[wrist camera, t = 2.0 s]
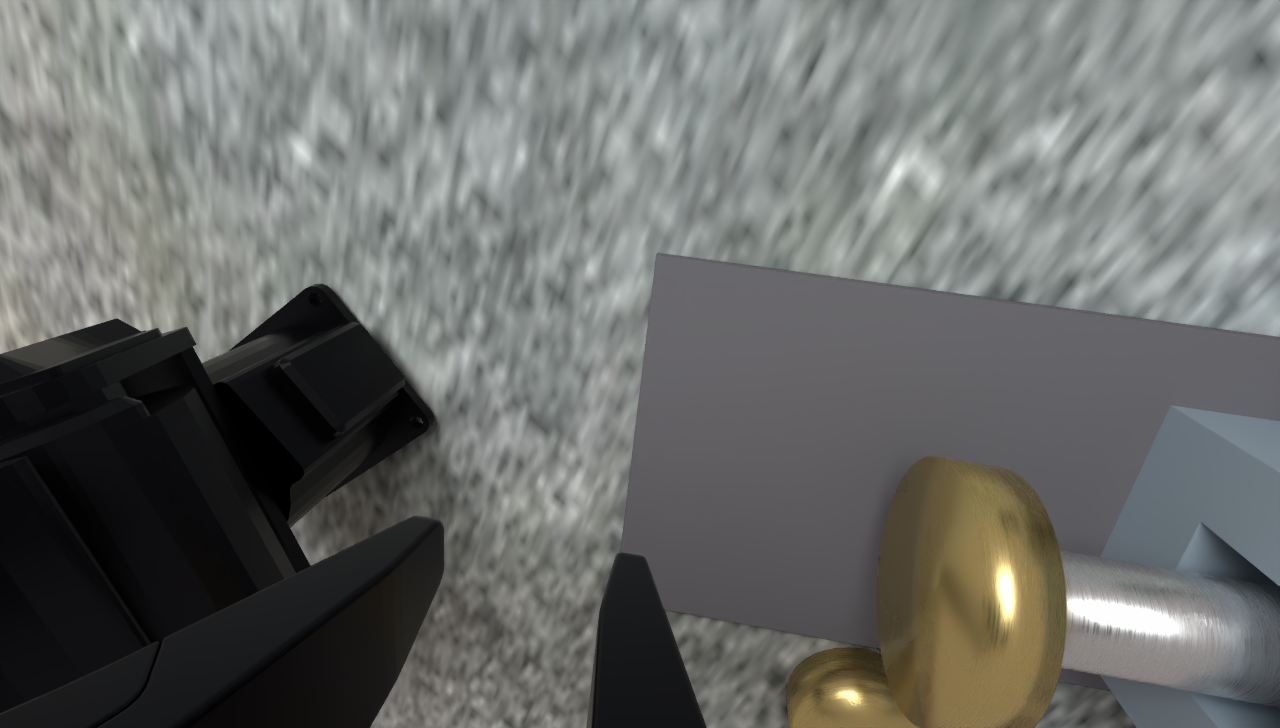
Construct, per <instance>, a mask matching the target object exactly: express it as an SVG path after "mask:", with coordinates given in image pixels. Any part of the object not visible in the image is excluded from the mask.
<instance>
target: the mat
mask: <svg viewBox="0 0 1280 728" xmlns="http://www.w3.org/2000/svg"><path fill="white" fill-rule="evenodd" d="M1170 405H1172V406H1178V407H1185V408H1192V409H1199V410H1206V411H1213V412H1220V413H1226V414H1233V415H1240V416H1247V417H1254V418H1261V419H1268V420H1274V421H1280V337H1274V336H1267V335H1260V334H1252V333H1245V332H1238V331H1230V330H1223V329H1215V328H1208V327H1201V326H1193V325H1186V324H1179V323H1171V322H1164V321H1156V320H1149V319H1142V318H1134V317H1127V316H1120V315H1112V314H1105V313H1097V312H1090V311H1083V310H1075V309H1068V308H1061V307H1053V306H1046V305H1038V304H1031V303H1024V302H1016V301H1009V300H1002V299H994V298H987V297H979V296H972V295H965V294H957V293H950V292H943V291H935V290H928V289H920V288H913V287H906V286H898V285H891V284H884V283H876V282H869V281H861V280H854V279H847V278H839V277H832V276H825V275H817V274H810V273H802V272H795V271H788V270H780V269H773V268H766V267H758V266H751V265H743V264H736V263H729V262H721V261H714V260H707V259H699V258H692V257H684V256H677V255H670V254H662V253H657V255H656V261H655V270H654V278H653V286H652V295H651V303H650V311H649V319H648V328H647V336H646V344H645V353H644V361H643V369H642V378H641V386H640V394H639V402H638V411H637V419H636V427H635V436H634V444H633V452H632V461H631V469H630V477H629V485H628V494H627V502H626V510H625V519H624V527H623V535H622V544H621V552H624V553H630V554H635V555H641V556H644V557H645V558H646V560H647V562H648V565H649V568H650V571H651V574H652V576H653V579H654V582H655V585H656V588H657V590H658V593H659V596H660V599H661V602H662V604H663V607H664V610H670V611H675V612H680V613H686V614H691V615H697V616H702V617H708V618H713V619H719V620H724V621H730V622H735V623H741V624H746V625H752V626H757V627H763V628H768V629H774V630H779V631H785V632H790V633H795V634H801V635H806V636H812V637H817V638H823V639H828V640H834V641H839V642H845V643H850V644H856V645H861V646H867V647H872V648H878V649H881V648H880V641H879V633H878V622H877V575H878V563H879V554H880V547H881V541H882V535H883V531H884V526H885V522H886V518H887V514H888V511H889V508H890V505H891V502H892V499H893V497H894V494H895V492H896V489H897V487H898V486H899V484H900V482H901V480H902V478H903V477H904V475H905V474H906V472H907V471H908V470H909V469H910V467H911V466H912V465H913V464H915V463H916V462H917V461H918V460H920V459H922V458H924V457H929V456H934V457H941V458H947V459H954V460H960V461H966V462H973V463H979V464H985V465H992V466H998V467H1005V468H1007V469H1010V470H1012V471H1014V472H1016V473H1017V474H1019V475H1020V476H1021V477H1023V478H1024V479H1025V480H1026V481H1027V482H1028V483H1029V484H1030V485H1031V487H1032V488H1033V490H1034V491H1035V492H1036V494H1037V495H1038V496H1039V498H1040V500H1041V502H1042V504H1043V505H1044V507H1045V509H1046V511H1047V514H1048V516H1049V518H1050V521H1051V523H1052V525H1053V529H1054V532H1055V535H1056V538H1057V541H1058V545H1059V549H1060V551H1066V552H1072V553H1078V554H1084V555H1090V556H1096V557H1101V554H1102V552H1103V550H1104V548H1105V546H1106V544H1107V541H1108V539H1109V537H1110V535H1111V533H1112V531H1113V529H1114V526H1115V524H1116V522H1117V520H1118V518H1119V516H1120V513H1121V511H1122V509H1123V507H1124V505H1125V503H1126V500H1127V498H1128V496H1129V494H1130V492H1131V490H1132V487H1133V485H1134V483H1135V481H1136V479H1137V477H1138V475H1139V472H1140V470H1141V468H1142V466H1143V464H1144V462H1145V459H1146V457H1147V455H1148V453H1149V451H1150V449H1151V446H1152V444H1153V442H1154V440H1155V438H1156V436H1157V433H1158V431H1159V429H1160V427H1161V425H1162V423H1163V420H1164V418H1165V416H1166V414H1167V412H1168V410H1169V408H1170ZM1058 682H1064V683H1069V684H1075V685H1080V686H1086V687H1091V688H1097V689H1102V690H1108V691H1111V690H1110V689H1109V687H1108V686H1107V685H1106V683H1105V682H1104V680H1103V679H1102V677H1101V676H1100V675H1097V674H1091V673H1086V672H1080V671H1075V670H1069V669H1064V668H1061V671H1060V675H1059V679H1058Z"/></svg>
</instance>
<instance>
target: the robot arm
mask: <svg viewBox="0 0 1280 728" xmlns="http://www.w3.org/2000/svg"><path fill="white" fill-rule="evenodd" d="M316 294H318V295H319V296H320V297H321V299H322V304H320V303H319V302H318V301H317V299H316ZM194 345H196V343H195V341H194V339H193V337H192V335H191V333H190V332H189V330H188V328H187V327H184V328H180V329H177V330H173V331H170V332H166V333H163V334H161V332H160V330H159V329H158V328H156V329H152V330H149V331H146V330H145V331H142V332H141V331H139V330H138V329H136V328H134V327H132V326H130V325H128V324H126V323H124V322H123V321H121V320H119V319H113V320H110V321H107V322H104V323H100V324H97V325H94V326H91V327H87V328H84V329H81V330H77V331H74V332H71V333H68V334H64V335H61V336H58V337H55V338H51V339H48V340H45V341H42V342H38V343H35V344H32V345H28V346H25V347H22V348H19V349H15V350H12V351H9V352H6V353H3V354H0V728H370V726H371V725H372V723H373V721H374V719H375V718H376V716H377V714H378V713H379V711H380V709H381V707H382V706H383V704H384V702H385V700H386V699H387V697H388V695H389V693H390V691H391V690H392V688H393V686H394V684H395V682H396V680H397V678H398V676H399V674H400V672H401V670H402V668H403V666H404V663H405V661H406V659H407V657H408V654H409V652H410V650H411V648H412V645H413V643H414V641H415V639H416V636H417V634H418V632H419V630H420V627H421V625H422V623H423V621H424V618H425V616H426V614H427V612H428V609H429V607H430V605H431V603H432V600H433V598H434V596H435V594H436V591H437V589H438V587H439V584H440V582H441V579H442V575H443V571H444V527H443V524H442V522H441V521H440V520H438V519H432V518H427V517H421V516H413V517H411V518H408V519H406V520H404V521H402V522H400V523H398V524H396V525H394V526H392V527H390V528H388V529H386V530H384V531H382V532H380V533H378V534H376V535H374V536H372V537H370V538H367V539H365V540H363V541H361V542H359V543H357V544H355V545H353V546H351V547H349V548H347V549H345V550H343V551H341V552H339V553H337V554H335V555H333V556H331V557H329V558H327V559H324V560H322V561H320V562H318V563H316V564H314V565H312V566H310V564H309V562H308V560H307V558H306V557H305V555H304V553H303V551H302V549H301V547H300V545H299V544H298V542H297V540H296V538H295V536H294V534H293V532H292V531H291V529H290V528H291V527H292V526H293V525H294V524H295V523H296V522H298V521H299V520H300V519H301V518H302V517H303V516H304V515H305V514H306V513H307V512H309V511H310V510H311V509H312V508H313V507H314V506H315V505H316V504H317V503H318V502H320V501H321V500H322V499H323V498H324V497H326V496H328V495H329V494H331V493H332V492H334V491H336V490H337V489H339V488H340V487H342V486H343V485H345V484H346V483H348V482H349V481H351V480H352V479H354V478H356V477H357V476H359V475H360V474H362V473H363V472H365V471H366V470H368V469H369V468H371V467H373V466H374V465H376V464H377V463H379V462H380V461H382V460H383V459H385V458H386V457H388V456H389V455H391V454H393V453H394V452H396V451H397V450H399V449H400V448H402V447H403V446H405V445H406V444H408V443H409V442H411V441H413V440H414V439H416V438H417V437H419V436H420V435H422V434H423V433H425V432H426V431H427V430H428V429H429V428H430V427H431V426H432V425H433V422H434V417H433V414H432V412H431V411H430V410H429V408H428V407H427V406H426V405H425V403H424V402H423V401H422V400H421V399H420V397H419V396H418V395H417V394H416V392H415V391H414V390H413V389H412V388H411V386H410V385H409V384H408V383H407V381H406V380H405V379H404V376H403V375H402V374H401V372H400V371H399V370H398V369H397V367H396V366H395V365H394V364H393V363H392V361H391V360H390V359H389V358H388V356H387V355H386V354H385V353H384V352H383V350H382V349H381V348H380V347H379V345H378V344H377V343H376V342H375V341H374V339H373V338H372V337H371V336H370V334H369V333H368V332H367V331H366V330H365V328H364V327H363V326H362V325H361V324H359V323H358V322H357V320H356V319H355V318H354V317H353V315H352V314H351V313H350V312H349V311H348V309H347V308H346V307H345V306H344V304H343V303H342V302H341V301H340V299H339V298H338V297H337V296H336V295H335V293H334V292H333V291H332V290H331V289H330V288H329V287H328V286H326V285H324V284H315V285H313V286H310V287H308V288H306V289H304V290H303V291H302V292H301V293H300V294H298V295H297V296H296V297H295V298H293V299H292V300H291V301H290V302H288V303H287V304H286V305H285V306H283V307H282V308H281V309H280V310H279V311H277V312H276V313H275V314H274V315H272V316H271V317H270V318H269V319H267V320H266V321H265V322H264V323H263V324H261V325H260V326H259V327H258V328H256V329H255V330H254V331H253V332H251V333H250V334H249V335H248V336H246V337H245V338H244V339H243V340H242V341H240V342H239V343H238V344H237V345H235V346H234V347H233V348H232V349H230V350H229V351H228V352H226V353H224V354H222V355H219V356H217V357H215V358H213V359H210V360H208V361H206V362H203V363H201V361H200V359H199V357H198V356H197V354H196V352H195V350H194V348H193V346H194ZM415 416H418V417H420V418H421V419H422V421H423V424H422V423H419V422H417V421H416V419H415ZM586 728H707V727H706V725H705V722H704V719H703V716H702V713H701V711H700V708H699V705H698V702H697V700H696V697H695V694H694V691H693V688H692V686H691V683H690V680H689V677H688V674H687V672H686V669H685V666H684V663H683V660H682V658H681V655H680V652H679V649H678V646H677V644H676V641H675V638H674V635H673V632H672V630H671V627H670V624H669V621H668V618H667V616H666V613H665V610H664V607H663V604H662V602H661V599H660V596H659V593H658V590H657V588H656V585H655V582H654V579H653V576H652V574H651V571H650V568H649V565H648V562H647V560H646V558H645V557H644V556H641V555H635V554H630V553H624V552H620V553H618V554H617V555H616V557H615V560H614V563H613V567H612V570H611V573H610V576H609V580H608V583H607V586H606V590H605V593H604V596H603V599H602V603H601V607H600V612H599V620H598V628H597V637H596V646H595V655H594V664H593V673H592V682H591V691H590V700H589V709H588V718H587V727H586Z"/></svg>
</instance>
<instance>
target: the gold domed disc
mask: <svg viewBox="0 0 1280 728" xmlns="http://www.w3.org/2000/svg"><path fill="white" fill-rule="evenodd" d="M786 698H787V708H788V718H789V727H790V728H919V727H917V726H915V725H914V724H912V723H911V722H910V721H909V720H908V719H907V718H906V717H905V715H904V714H903V713H902V711H901V710H900V708H899V706H898V704H897V703H896V701H895V698H894V696H893V694H892V691H891V689H890V686H889V683H888V680H887V676H886V672H885V669H884V665H883V660H882V655H880V654H878V653H875V652H872V651H869V650H865V649H859V648H835V649H830V650H825V651H822V652H819V653H817V654H814V655H812V656H810V657H809V658H807V659H805V660H804V661H803V662H801V663H800V664H799V665H798V666H797V667H796V668H795V669H794V671H793V672H792V674H791V675H790V677H789V680H788V683H787V686H786Z"/></svg>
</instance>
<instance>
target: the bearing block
mask: <svg viewBox="0 0 1280 728" xmlns="http://www.w3.org/2000/svg"><path fill="white" fill-rule="evenodd" d="M1101 557H1102V558H1108V559H1114V560H1120V561H1126V562H1132V563H1138V564H1144V565H1151V566H1157V567H1163V568H1169V569H1175V570H1181V571H1187V572H1193V573H1199V574H1205V575H1211V576H1217V577H1223V578H1229V579H1235V580H1241V581H1247V582H1253V583H1259V584H1265V585H1271V586H1277V587H1280V421H1274V420H1268V419H1261V418H1254V417H1247V416H1240V415H1233V414H1226V413H1220V412H1213V411H1206V410H1199V409H1192V408H1185V407H1178V406H1172V405H1170V408H1169V410H1168V412H1167V414H1166V416H1165V418H1164V420H1163V423H1162V425H1161V427H1160V429H1159V431H1158V433H1157V436H1156V438H1155V440H1154V442H1153V444H1152V446H1151V449H1150V451H1149V453H1148V455H1147V457H1146V459H1145V462H1144V464H1143V466H1142V468H1141V470H1140V472H1139V475H1138V477H1137V479H1136V481H1135V483H1134V485H1133V487H1132V490H1131V492H1130V494H1129V496H1128V498H1127V500H1126V503H1125V505H1124V507H1123V509H1122V511H1121V513H1120V516H1119V518H1118V520H1117V522H1116V524H1115V526H1114V529H1113V531H1112V533H1111V535H1110V537H1109V539H1108V541H1107V544H1106V546H1105V548H1104V550H1103V552H1102V554H1101ZM1100 676H1101V677H1102V679H1103V680H1104V682H1105V683H1106V685H1107V686H1108V687H1109V689H1110V690H1111V692H1112V693H1113V695H1114V696H1115V698H1116V699H1117V700H1118V702H1119V703H1120V705H1121V706H1122V708H1123V709H1124V711H1125V712H1126V714H1127V715H1128V716H1129V718H1130V719H1131V721H1132V722H1133V724H1134V725H1135V727H1136V728H1280V708H1279V707H1274V706H1268V705H1263V704H1257V703H1252V702H1246V701H1241V700H1235V699H1230V698H1224V697H1219V696H1213V695H1208V694H1202V693H1197V692H1191V691H1185V690H1180V689H1174V688H1169V687H1163V686H1158V685H1152V684H1147V683H1141V682H1136V681H1130V680H1125V679H1119V678H1114V677H1108V676H1103V675H1100Z"/></svg>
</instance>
